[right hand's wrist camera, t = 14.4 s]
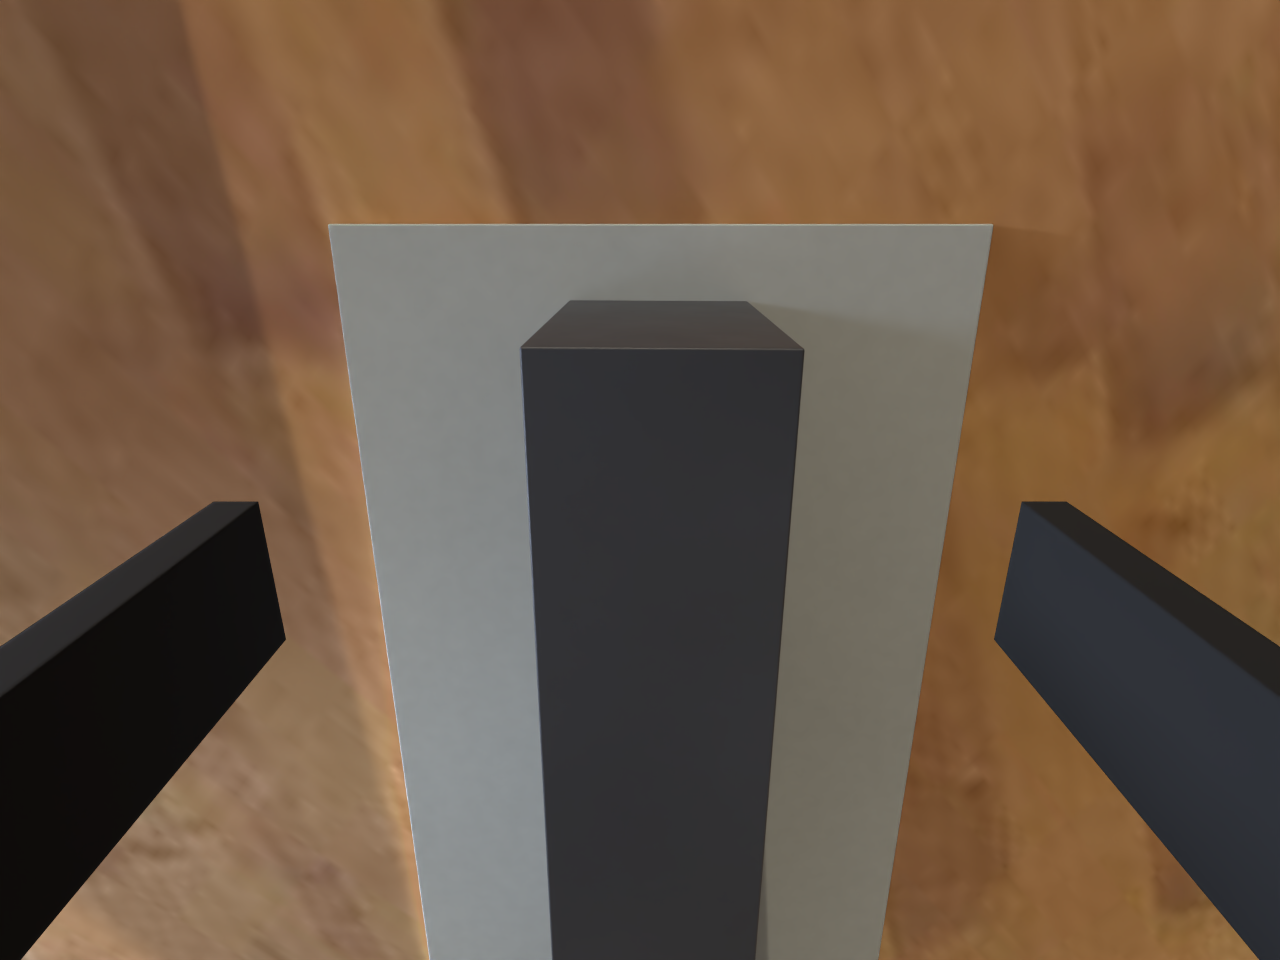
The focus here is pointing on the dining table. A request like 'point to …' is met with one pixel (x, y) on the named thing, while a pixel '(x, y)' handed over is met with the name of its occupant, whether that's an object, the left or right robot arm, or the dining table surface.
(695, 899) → the charcoal beam
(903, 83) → the dining table surface
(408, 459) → the grey rubber mat
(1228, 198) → the dining table surface
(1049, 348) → the dining table surface
